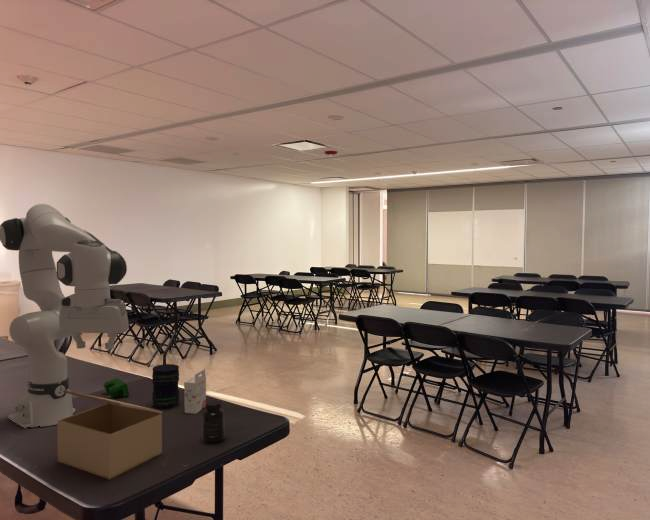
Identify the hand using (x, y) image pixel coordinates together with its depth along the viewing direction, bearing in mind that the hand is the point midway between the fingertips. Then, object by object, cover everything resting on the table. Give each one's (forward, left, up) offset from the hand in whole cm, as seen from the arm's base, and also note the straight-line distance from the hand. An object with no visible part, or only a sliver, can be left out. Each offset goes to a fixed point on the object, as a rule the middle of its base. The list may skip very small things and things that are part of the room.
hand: (95, 348), depth 131 cm
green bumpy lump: (-48, +45, -34) cm, 74 cm away
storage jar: (-21, +46, -34) cm, 61 cm away
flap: (-2, +7, -18) cm, 19 cm away
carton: (-2, +6, -34) cm, 34 cm away
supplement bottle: (+16, +30, -34) cm, 48 cm away
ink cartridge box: (-8, +48, -34) cm, 59 cm away
